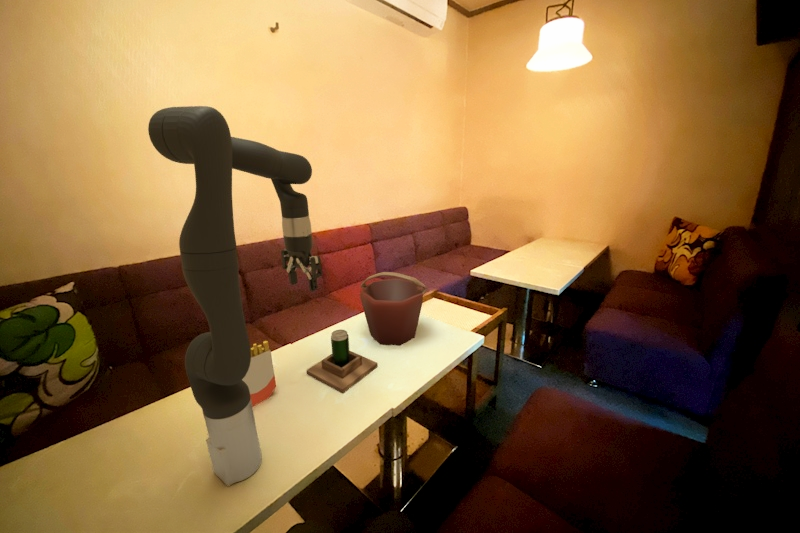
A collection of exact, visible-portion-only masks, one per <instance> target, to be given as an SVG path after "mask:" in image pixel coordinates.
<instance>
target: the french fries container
mask: <svg viewBox="0 0 800 533" xmlns="http://www.w3.org/2000/svg"><path fill="white" fill-rule="evenodd" d="M262 345H263V346H262ZM250 348H251V362H250V366H249V369H248V372H247V374H246V375H245V377H244V378H243V379H242V380H243V381H244V382H245V383H246V384H247V386H248V388H249V391H250V397H251V402H252V407H254V406H255V405H256V406H257V405H258V404H259V403H261V402H264V401H265V400H267V399H269V398H270V396H271V395H272V394H273V392H274V391H275V389H276V387H277V384H276V376H275V370H274V363H273V357H272V356H273V355H272V351H271V348H270V346H269V341H268V340H264V341H262V344H258V345H257V343H253V345H252V347H250Z"/></svg>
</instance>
